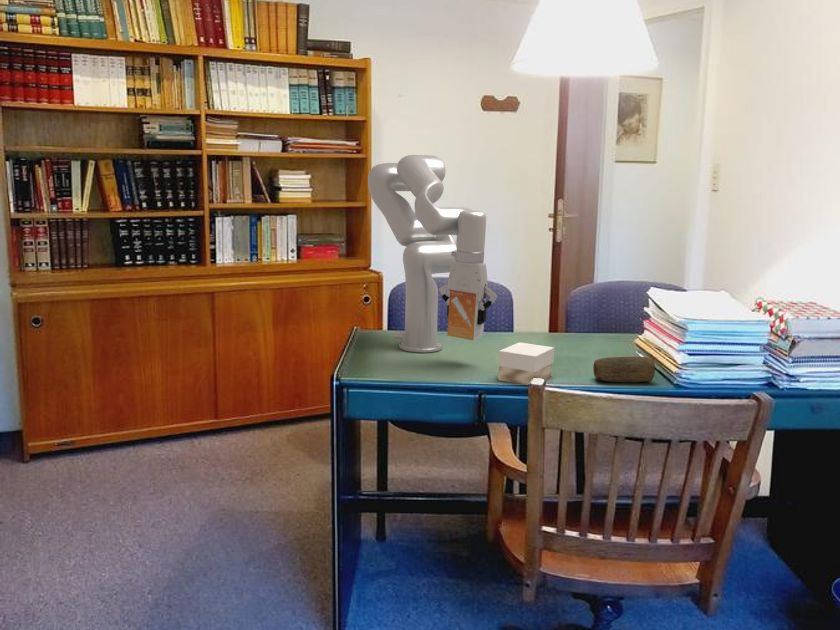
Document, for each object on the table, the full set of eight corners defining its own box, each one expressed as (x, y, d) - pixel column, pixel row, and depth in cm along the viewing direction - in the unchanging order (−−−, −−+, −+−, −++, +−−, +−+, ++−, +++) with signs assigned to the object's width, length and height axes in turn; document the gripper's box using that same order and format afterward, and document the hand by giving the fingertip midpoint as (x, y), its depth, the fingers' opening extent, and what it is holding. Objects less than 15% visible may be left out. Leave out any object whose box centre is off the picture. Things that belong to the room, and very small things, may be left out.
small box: (446, 336, 209) (449, 288, 206) (457, 331, 215) (459, 285, 212) (473, 341, 206) (476, 292, 203) (483, 336, 211) (486, 289, 208)
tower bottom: (498, 381, 197) (498, 366, 196) (515, 371, 208) (516, 356, 207) (535, 387, 193) (536, 372, 192) (551, 376, 203) (552, 362, 202)
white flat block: (498, 366, 197) (499, 350, 196) (518, 356, 207) (519, 342, 206) (534, 372, 192) (535, 356, 191) (553, 362, 202) (554, 347, 201)
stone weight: (645, 378, 203) (647, 353, 201) (656, 385, 196) (658, 359, 195) (589, 378, 201) (591, 353, 200) (598, 385, 194) (600, 359, 193)
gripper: (434, 255, 206) (431, 319, 210) (494, 262, 198) (490, 329, 202) (446, 252, 213) (443, 314, 216) (505, 259, 205) (501, 323, 209)
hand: (466, 321), depth 209 cm, fingers closed on small box, 8 cm apart
